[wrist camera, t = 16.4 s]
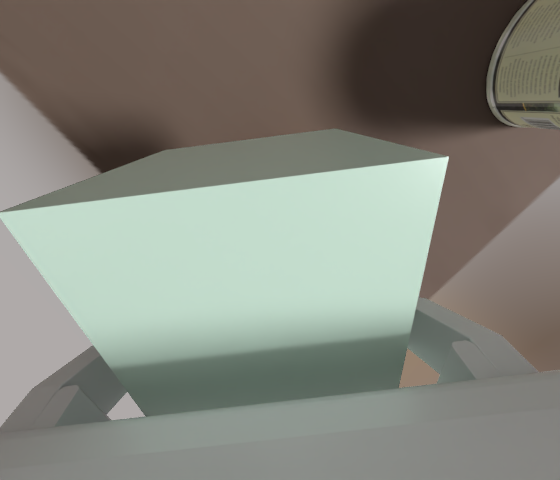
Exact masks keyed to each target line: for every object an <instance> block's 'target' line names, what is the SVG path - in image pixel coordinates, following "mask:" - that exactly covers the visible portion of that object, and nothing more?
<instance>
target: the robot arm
mask: <svg viewBox="0 0 560 480" xmlns="http://www.w3.org/2000/svg"><path fill="white" fill-rule="evenodd" d="M407 348H408V349H409V350H411V351H412V352H413V353H414V354H416V355H417V356H418V357H419V358H421V359H422V360H423V361H425V363H427V364H428V365H429V366H430V367H432V368H433V369H434V370H435V371H437V372H438V373H439V374H440V377H439V379H438V382H437V384H431V385H422V386H413V387H404V388H395V389H386V390H377V391H369V392H360V393H351V394H342V395H333V396H324V397H316V398H307V399H298V400H289V401H280V402H271V403H262V404H254V405H245V406H236V407H227V408H218V409H209V410H200V411H191V412H183V413H174V414H165V415H156V416H147V417H139V418H129V419H120V420H111V419H110V418H109V417H108V416H107V413H108V412H109V411H110V410H111V409H112V408H113V407H114V406H115V405H116V403H117V402H118V401H119V400H120V399H121V398H122V397H123V396H124V395H125V393H126V392H127V390H126V389H125V388H124V386H123V385H122V384H121V382H120V381H119V379H118V378H117V377H116V375H115V374H114V373H113V371H112V370H111V369H110V367H109V366H108V364H107V363H106V362H105V360H104V359H103V358H102V356H101V355H100V354H99V352H98V351H97V350H96V348H95V347H94V345H93V346H91V347H90V348H89V349H87V350H86V351H84V352H83V353H82V354H80V355H79V356H77V357H76V358H75V359H73V360H72V361H70V362H69V363H68V364H66V365H65V366H63V367H62V368H61V369H59V370H58V371H56V372H55V373H54V374H52V375H51V376H49V377H48V378H47V379H45V380H44V381H42V382H41V383H40V384H38V385H37V386H35V387H34V388H33V389H32V390H31V391H30V392H29V393H28V394H27V396H26V397H25V398H24V399H23V400H22V402H21V403H20V404H19V405H18V407H17V408H16V409H15V410H14V412H13V413H12V414H11V415H10V416H9V417H8V419H7V420H6V421H5V422H4V423H3V425H2V426H1V427H0V480H560V370H555V371H546V372H538V371H537V370H536V369H535V368H534V367H533V366H532V365H531V364H530V363H529V362H528V361H527V360H526V359H525V358H524V357H523V356H522V355H521V354H520V353H519V352H518V351H517V350H516V349H514V347H513V346H511V344H509V342H508V341H507V340H506V339H504V338H503V337H502V336H501V335H499V334H497V333H495V332H493V331H491V330H489V329H487V328H485V327H483V326H481V325H479V324H477V323H475V322H473V321H471V320H469V319H467V318H465V317H463V316H461V315H459V314H457V313H455V312H453V311H450V310H449V309H446V308H444V307H442V306H440V305H438V304H436V303H434V302H432V301H430V300H428V299H426V298H420V297H419V296H418V301H417V305H416V310H415V315H414V319H413V324H412V328H411V333H410V338H409V342H408V347H407Z"/></svg>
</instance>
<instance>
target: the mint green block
mask: <svg viewBox="0 0 560 480" xmlns="http://www.w3.org/2000/svg"><path fill="white" fill-rule="evenodd" d="M448 158H449V157H448V156H444V155H440V154H436V153H432V152H428V151H424V150H420V149H416V148H412V147H408V146H404V145H400V144H396V143H392V142H388V141H384V140H380V139H376V138H372V137H368V136H364V135H360V134H356V133H352V132H348V131H344V130H340V129H336V128H335V129H328V130H320V131H312V132H304V133H296V134H288V135H280V136H273V137H265V138H257V139H249V140H241V141H233V142H225V143H218V144H210V145H202V146H194V147H186V148H178V149H170V150H164V151H161V152H158V153H156V154H153V155H150V156H148V157H145V158H142V159H140V160H137V161H134V162H132V163H129V164H126V165H124V166H121V167H118V168H116V169H113V170H110V171H108V172H105V173H102V174H99V175H97V176H94V177H92V178H89V179H86V180H84V181H81V182H78V183H76V184H73V185H70V186H67V187H65V188H62V189H60V190H57V191H54V192H51V193H49V194H46V195H43V196H41V197H38V198H36V199H33V200H30V201H27V202H25V203H22V204H19V205H17V206H14V207H12V208H9V209H6V210H3V211H1V212H0V219H1V220H2V222H3V223H4V224H5V226H6V227H7V228H8V230H9V231H10V232H11V234H12V235H13V236H14V238H15V239H16V241H17V242H18V243H19V245H20V246H21V247H22V249H23V250H24V252H25V253H26V254H27V255H28V257H29V258H30V260H31V261H32V262H33V264H34V265H35V266H36V268H37V269H38V270H39V272H40V273H41V275H42V276H43V277H44V279H45V280H46V281H47V283H48V284H49V285H50V287H51V288H52V289H53V291H54V292H55V294H56V295H57V296H58V298H59V299H60V301H61V302H62V303H63V305H64V306H65V307H66V309H67V310H68V311H69V313H70V314H71V315H72V317H73V318H74V320H75V321H76V322H77V324H78V325H79V326H80V328H81V329H82V330H83V332H84V333H85V334H86V336H87V337H88V339H89V340H90V341H91V343H92V344H93V345H94V347H95V348H96V350H97V351H98V352H99V354H100V355H101V356H102V358H103V359H104V360H105V362H106V363H107V364H108V366H109V367H110V369H111V370H112V371H113V373H114V374H115V375H116V377H117V378H118V379H119V381H120V382H121V384H122V385H123V386H124V388H125V389H126V390H127V392H128V393H129V394H130V396H131V397H132V399H133V400H134V401H135V403H136V404H137V405H138V407H139V408H140V409H141V411H142V412H143V413H144V415H145V416H146V417H147V416H156V415H165V414H174V413H183V412H191V411H200V410H209V409H218V408H227V407H236V406H245V405H254V404H262V403H271V402H280V401H289V400H298V399H307V398H316V397H324V396H333V395H342V394H351V393H360V392H369V391H377V390H386V389H395V388H399V384H400V379H401V374H402V370H403V365H404V361H405V356H406V351H407V347H408V342H409V338H410V333H411V328H412V324H413V319H414V315H415V310H416V305H417V301H418V296H419V292H420V287H421V282H422V278H423V273H424V269H425V264H426V259H427V255H428V250H429V246H430V241H431V236H432V232H433V227H434V223H435V218H436V213H437V209H438V204H439V200H440V195H441V190H442V186H443V181H444V177H445V172H446V167H447V163H448Z"/></svg>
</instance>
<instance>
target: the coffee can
mask: <svg viewBox="0 0 560 480" xmlns="http://www.w3.org/2000/svg"><path fill="white" fill-rule="evenodd" d="M486 81H487V85H486V87H487V88H486V93H487V101H488V104H489V107H490V109H491V111H492V113H493V114H494V115H495V117H496V118H497V119H498V120H500V121H501V122H503V123H505V124H507V125H510V126H514V127H535V128H546V129H556V130H560V0H528V1H527V2H526V3H525V4H524V5H523V6H522V7H521V8H520V9H519V10H518V11H517V13H516V14H515V15H514V17H513V18H512V20H511V21H510V23H509V25H508V26H507V27H506V29H505V30H504V32H503V34H502V35H501V37H500V39H499V41H498V43H497V45H496V48H495V50H494V52H493V55H492V58H491V61H490V65H489V69H488V74H487V79H486Z"/></svg>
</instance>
